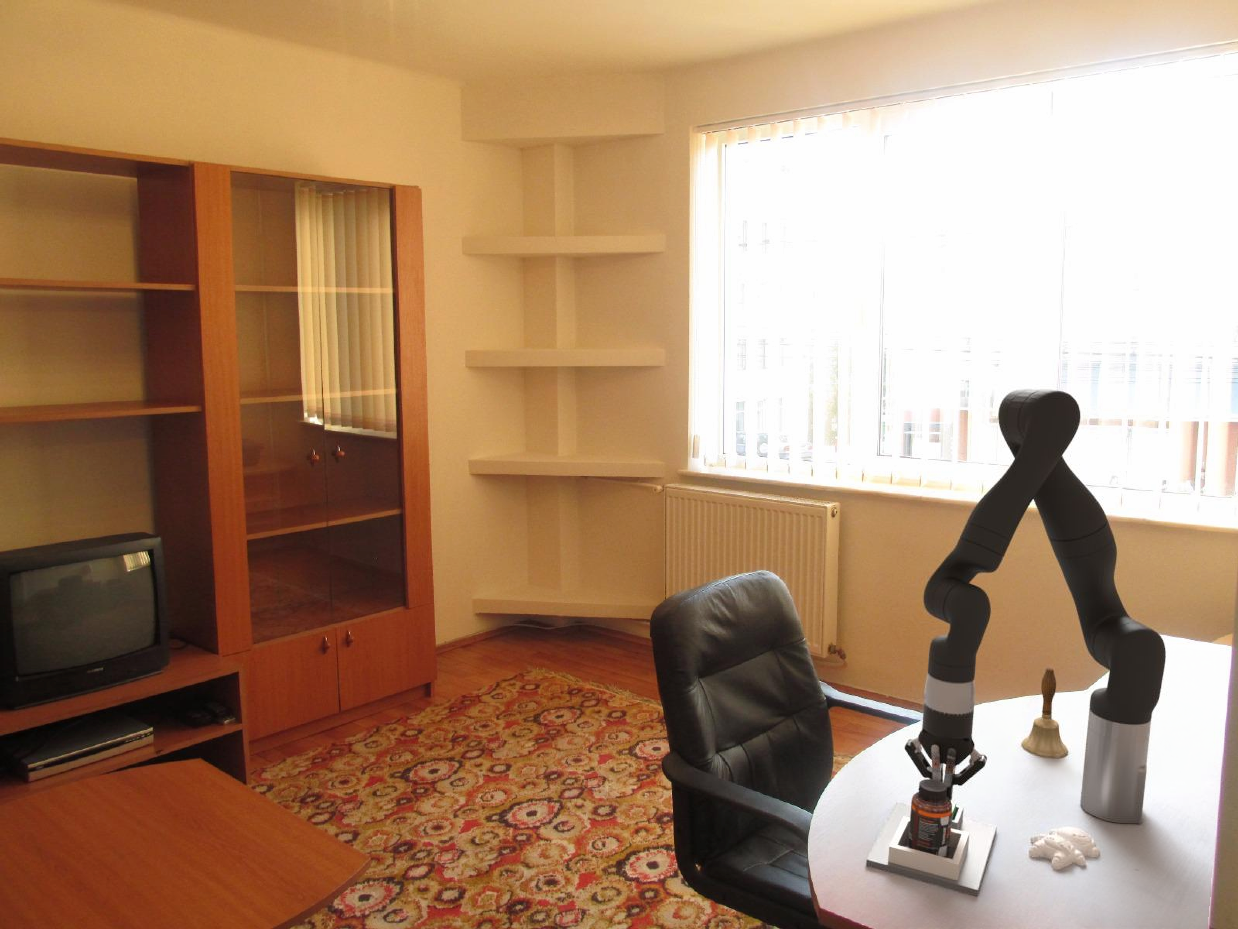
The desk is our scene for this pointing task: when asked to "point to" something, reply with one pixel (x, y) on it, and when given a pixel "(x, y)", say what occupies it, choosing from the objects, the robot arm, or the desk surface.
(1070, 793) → the desk surface
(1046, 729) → the hand bell
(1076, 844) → the astronaut figurine
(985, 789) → the desk surface
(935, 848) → the supplement bottle
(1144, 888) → the desk surface
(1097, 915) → the desk surface
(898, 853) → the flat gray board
